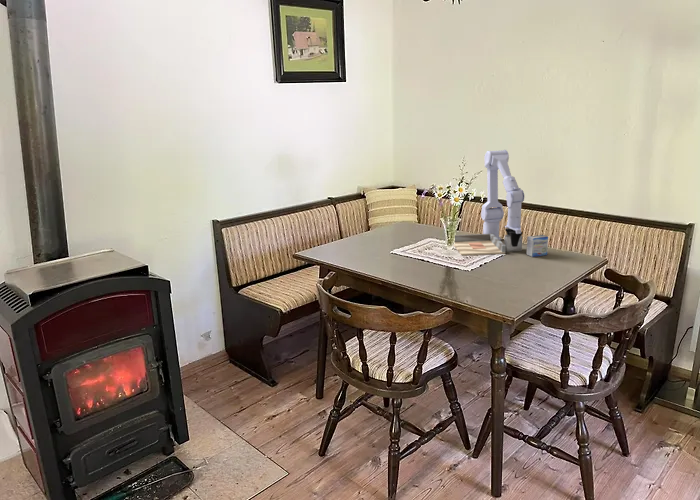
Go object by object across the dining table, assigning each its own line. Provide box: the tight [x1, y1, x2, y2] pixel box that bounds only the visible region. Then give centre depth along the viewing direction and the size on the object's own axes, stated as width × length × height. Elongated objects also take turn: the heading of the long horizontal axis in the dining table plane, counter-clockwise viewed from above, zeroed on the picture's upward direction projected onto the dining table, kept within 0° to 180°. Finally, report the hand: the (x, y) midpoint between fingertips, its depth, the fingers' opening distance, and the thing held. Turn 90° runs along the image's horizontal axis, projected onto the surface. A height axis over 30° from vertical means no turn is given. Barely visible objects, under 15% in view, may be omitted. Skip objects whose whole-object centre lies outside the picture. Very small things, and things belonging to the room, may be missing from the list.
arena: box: [453, 233, 506, 256], centre depth 256 cm, size 22×20×4 cm
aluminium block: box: [503, 234, 523, 253], centre depth 250 cm, size 4×7×7 cm, turn 91°
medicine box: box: [526, 234, 549, 258], centre depth 241 cm, size 8×4×9 cm, turn 105°
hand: (513, 245), depth 250 cm, fingers open, 4 cm apart
